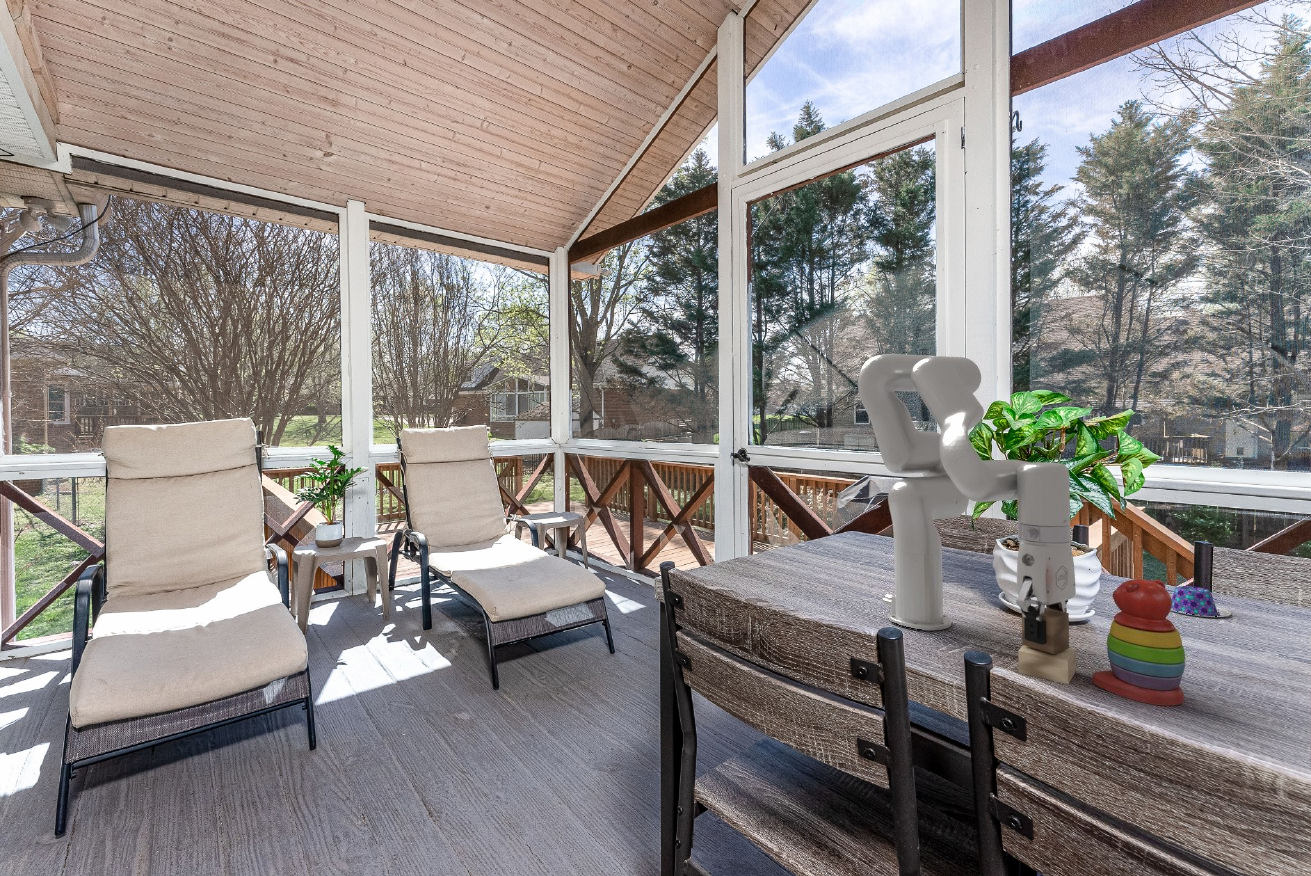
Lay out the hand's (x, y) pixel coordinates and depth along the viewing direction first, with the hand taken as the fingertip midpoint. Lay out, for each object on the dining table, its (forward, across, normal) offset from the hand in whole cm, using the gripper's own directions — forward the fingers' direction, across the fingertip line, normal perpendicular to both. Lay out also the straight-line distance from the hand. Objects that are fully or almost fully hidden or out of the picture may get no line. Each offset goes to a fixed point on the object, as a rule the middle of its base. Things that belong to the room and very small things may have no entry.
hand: (1045, 637), depth 99 cm
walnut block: (+1, 0, 0) cm, 1 cm away
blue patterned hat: (+6, +62, +1) cm, 62 cm away
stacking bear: (+6, +4, -12) cm, 14 cm away
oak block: (+6, 0, 0) cm, 6 cm away
